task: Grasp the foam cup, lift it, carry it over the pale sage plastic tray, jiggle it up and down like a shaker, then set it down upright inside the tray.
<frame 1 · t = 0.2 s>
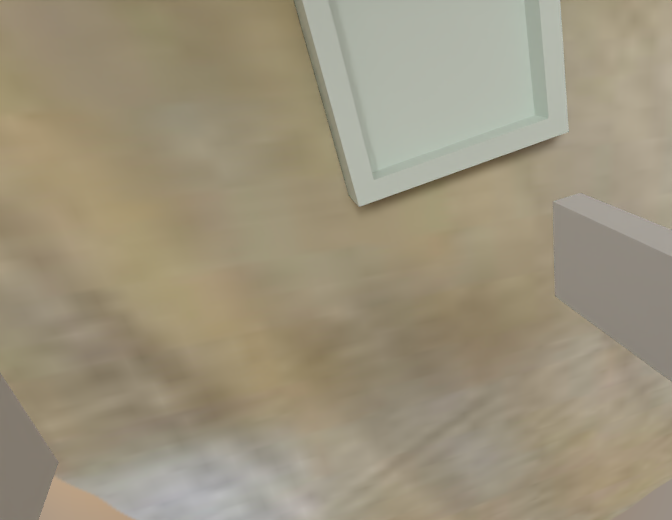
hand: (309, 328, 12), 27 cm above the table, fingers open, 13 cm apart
tray: (429, 48, 37), on the table
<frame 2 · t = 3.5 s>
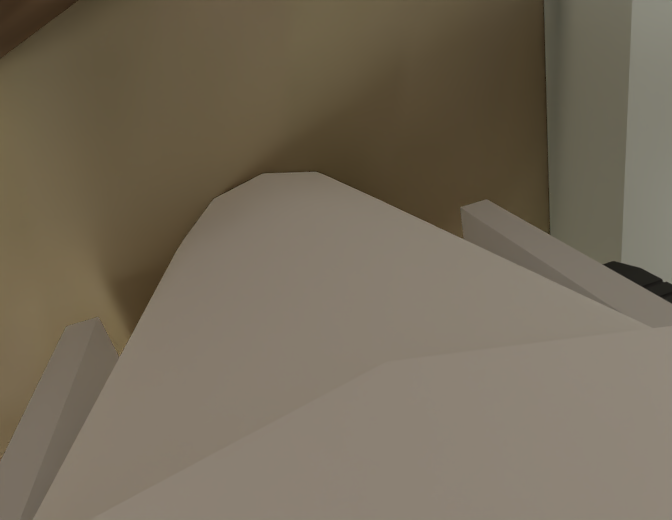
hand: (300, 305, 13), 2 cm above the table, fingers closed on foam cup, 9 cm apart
foam cup: (290, 276, 14), on the table, touching gripper
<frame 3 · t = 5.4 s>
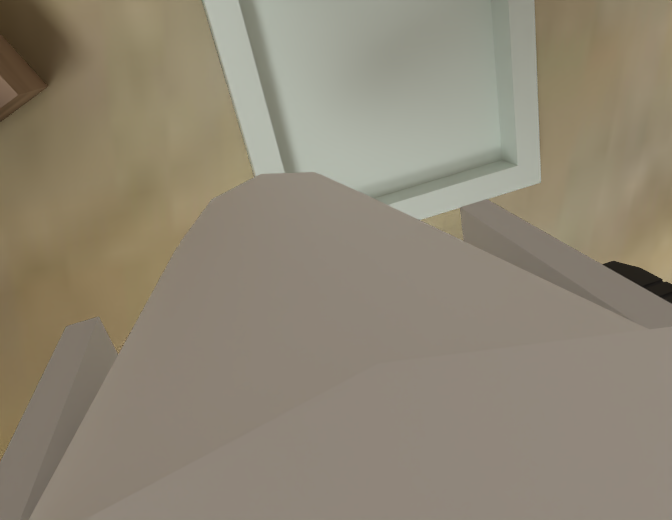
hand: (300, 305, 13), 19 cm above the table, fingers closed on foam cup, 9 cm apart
tray: (376, 73, 30), on the table
foam cup: (288, 276, 14), point 18 cm above the table, touching gripper
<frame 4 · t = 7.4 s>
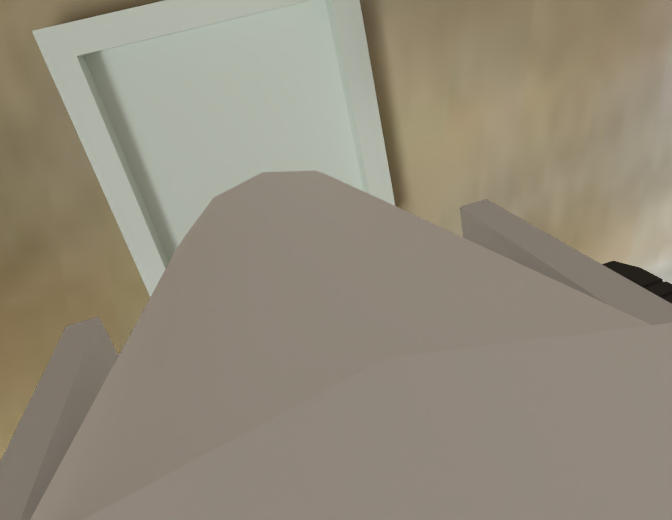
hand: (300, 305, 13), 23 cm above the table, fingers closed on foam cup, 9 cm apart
tray: (242, 141, 34), on the table
foam cup: (290, 275, 14), point 21 cm above the table, touching gripper
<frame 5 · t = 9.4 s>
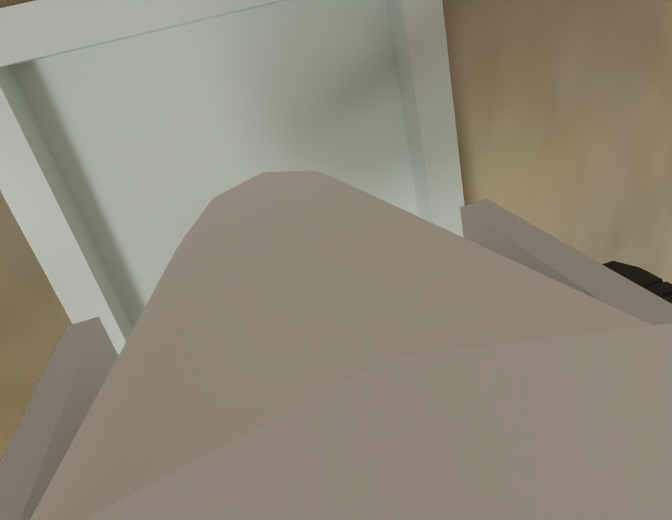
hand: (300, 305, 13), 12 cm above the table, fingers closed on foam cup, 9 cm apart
tray: (255, 188, 23), on the table
foam cup: (290, 275, 14), point 10 cm above the table, touching gripper
when the fingers open (4 cm above the table, at t = 11.3 s): foam cup drops 2 cm, resting on tray.
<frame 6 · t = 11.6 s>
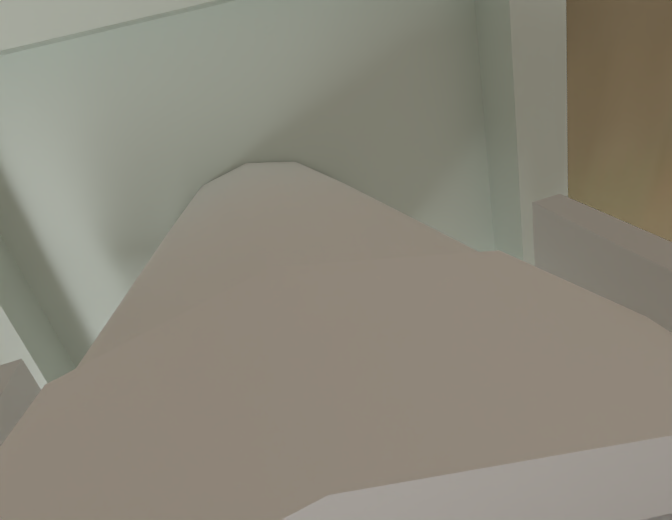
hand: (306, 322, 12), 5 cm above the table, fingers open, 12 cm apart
tray: (278, 242, 17), on the table
foam cup: (273, 257, 16), point 1 cm above the table, touching tray
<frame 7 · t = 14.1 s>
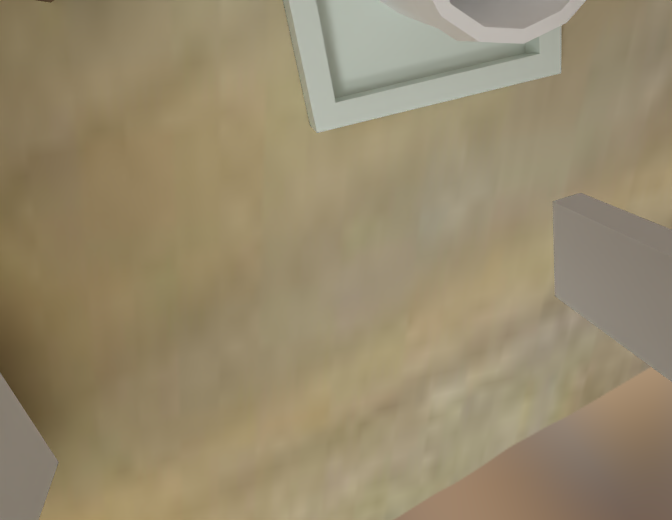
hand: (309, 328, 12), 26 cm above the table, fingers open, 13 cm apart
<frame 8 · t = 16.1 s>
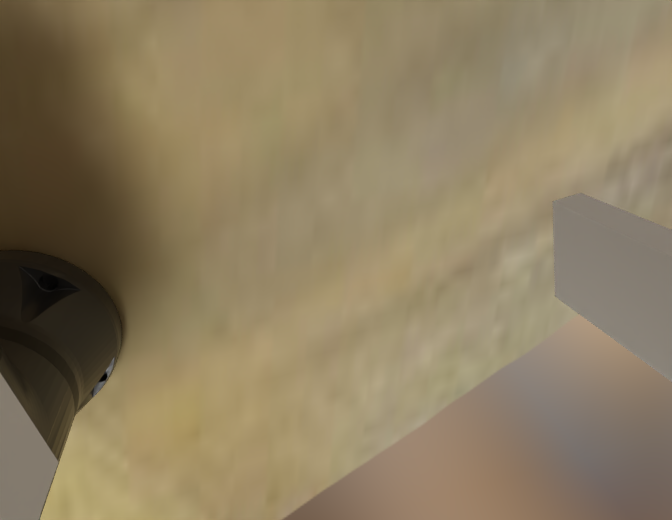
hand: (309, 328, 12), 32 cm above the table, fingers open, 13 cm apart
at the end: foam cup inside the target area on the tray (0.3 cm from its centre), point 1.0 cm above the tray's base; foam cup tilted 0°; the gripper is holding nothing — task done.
